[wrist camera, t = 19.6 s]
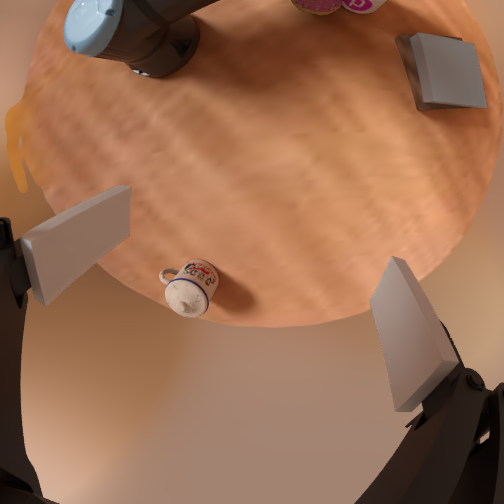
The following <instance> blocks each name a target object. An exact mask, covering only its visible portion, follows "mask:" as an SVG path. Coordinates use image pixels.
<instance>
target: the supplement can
mask: <svg viewBox="0 0 504 504" xmlns="http://www.w3.org/2000/svg"><path fill="white" fill-rule="evenodd" d="M386 1H387V0H342V4H341V5H343V6H344V7H345V8H346V9H348V10H350V11H352V12H355V13H359V14H365V13H372V12H375V11H376V10H377V9H378V8H379V7H380V6H381V5H382V4H384V3H385V2H386Z"/></svg>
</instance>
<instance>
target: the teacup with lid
mask: <svg viewBox="0 0 504 504" xmlns="http://www.w3.org/2000/svg"><path fill="white" fill-rule="evenodd" d="M166 273H172V274H175V275H176V276H175V278H174V279H173V280H172V281H170V280H168V279H167V278H165V277H164V274H166ZM159 278H160V280H161V281H162V282H163V283H164V284H166V285H167V287H166V291H165V296H166V300H167V302H168V304H169V306H170V307H171V308H172V309H173V310H174V311H175V312H177V313H178V314H180V315H182V316H185V317H190V318H191V317H192V318H193V317H198V316H201V315H202V314H204V313H205V312H206V310H207V309H208V305H209V302H210V300H211V298H212V296H213V294H214V292H215V290H216V288H217V286H218V283H219V278H218V274H217V272H216V270H215V269H214V268H213V267H212V266H211V265H210V264H209V263H207V262H205V261H202V260H191V261H188V262H187V263H186V264H185V265H184V266H183V267H182V269H181V270H180V271H179V270H177V269H174V268H165V269H163V270H162V271H161V272H160V275H159Z"/></svg>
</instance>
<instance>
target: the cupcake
mask: <svg viewBox="0 0 504 504" xmlns="http://www.w3.org/2000/svg"><path fill="white" fill-rule="evenodd" d="M291 1H292V3H293V4H294V5H295V6H296V7H297V8H298V9H299V10H301V11H303V12H307V13H310V14H317V15H328V14H330V13H332V12H334V11H336V10H337V9H339V8H340V7H341V4H342V0H291Z"/></svg>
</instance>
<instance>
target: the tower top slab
mask: <svg viewBox="0 0 504 504" xmlns="http://www.w3.org/2000/svg"><path fill="white" fill-rule="evenodd" d="M410 41H411V45H412V48H413V52H414V56H415V60H416V65H417V69H418V74H419V79H420V84H421V90H422V95H423V102H426V103H438V104H449V105H457V106H465V107H472V108H487V103H486V96H485V90H484V85H483V79H482V74H481V70H480V65H479V61H478V57H477V53H476V50H475V46H474V44H471V43H467V42H464V41H460V40H456V39H451V38H447V37H442V36H437V35H432V34H426V33H419V32H418V33H417V34H415V35H414V36H412V37H411V38H410Z"/></svg>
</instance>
